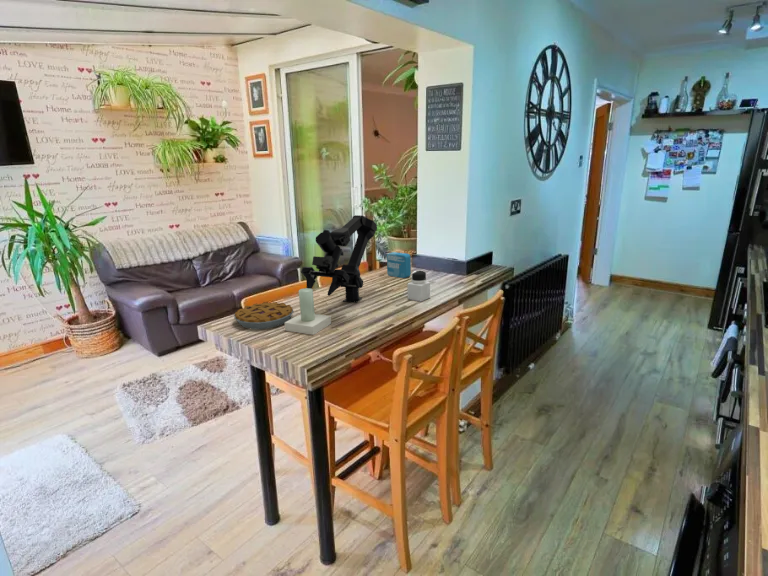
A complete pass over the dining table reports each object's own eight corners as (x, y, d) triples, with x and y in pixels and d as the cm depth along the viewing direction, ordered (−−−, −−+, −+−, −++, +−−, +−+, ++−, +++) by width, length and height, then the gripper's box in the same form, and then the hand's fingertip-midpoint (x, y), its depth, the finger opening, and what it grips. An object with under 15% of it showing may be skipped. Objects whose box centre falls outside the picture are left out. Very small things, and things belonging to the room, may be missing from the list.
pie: (270, 308, 186) (269, 296, 184) (305, 318, 172) (304, 306, 171) (223, 323, 169) (222, 310, 168) (258, 335, 156) (256, 322, 155)
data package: (387, 275, 233) (386, 253, 229) (392, 273, 236) (391, 251, 233) (406, 278, 226) (405, 255, 222) (410, 276, 229) (410, 253, 226)
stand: (304, 319, 170) (303, 312, 169) (331, 323, 165) (330, 315, 164) (285, 330, 160) (284, 322, 159) (313, 334, 155) (312, 326, 154)
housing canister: (310, 315, 165) (308, 287, 162) (317, 319, 161) (315, 290, 158) (298, 319, 162) (296, 290, 159) (305, 322, 158) (302, 293, 155)
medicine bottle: (430, 297, 193) (430, 271, 190) (420, 301, 188) (420, 274, 185) (416, 295, 197) (416, 268, 194) (407, 299, 192) (407, 272, 189)
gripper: (301, 246, 170) (286, 281, 163) (344, 248, 162) (330, 285, 156) (314, 261, 179) (300, 295, 173) (355, 264, 172) (342, 300, 165)
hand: (317, 294), depth 166 cm, fingers open, 9 cm apart
